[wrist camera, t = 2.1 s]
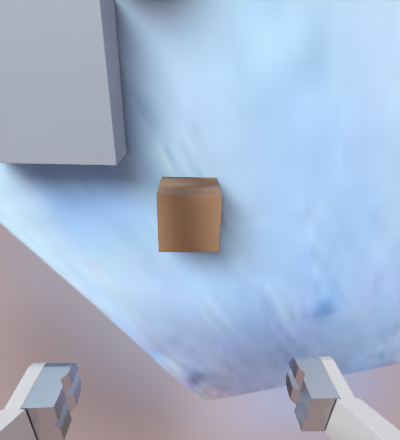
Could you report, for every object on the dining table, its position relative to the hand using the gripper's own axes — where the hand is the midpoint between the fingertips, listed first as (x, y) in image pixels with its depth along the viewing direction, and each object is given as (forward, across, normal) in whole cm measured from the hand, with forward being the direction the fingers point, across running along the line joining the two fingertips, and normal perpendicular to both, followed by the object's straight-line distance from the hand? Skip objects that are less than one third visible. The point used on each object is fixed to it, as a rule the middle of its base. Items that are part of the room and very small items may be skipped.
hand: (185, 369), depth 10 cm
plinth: (+17, +11, -10) cm, 23 cm away
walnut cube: (+17, 0, 0) cm, 17 cm away
